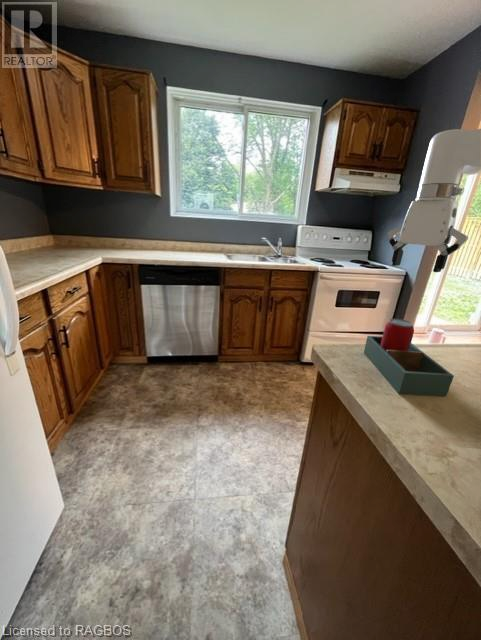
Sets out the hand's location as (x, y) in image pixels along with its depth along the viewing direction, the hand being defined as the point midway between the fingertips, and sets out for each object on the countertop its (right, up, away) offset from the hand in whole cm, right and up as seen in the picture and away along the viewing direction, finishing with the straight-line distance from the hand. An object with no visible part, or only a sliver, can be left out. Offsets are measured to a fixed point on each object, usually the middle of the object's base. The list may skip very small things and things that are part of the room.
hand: (415, 268), depth 69 cm
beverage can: (-3, -25, +6) cm, 26 cm away
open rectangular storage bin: (-3, -27, +2) cm, 27 cm away
